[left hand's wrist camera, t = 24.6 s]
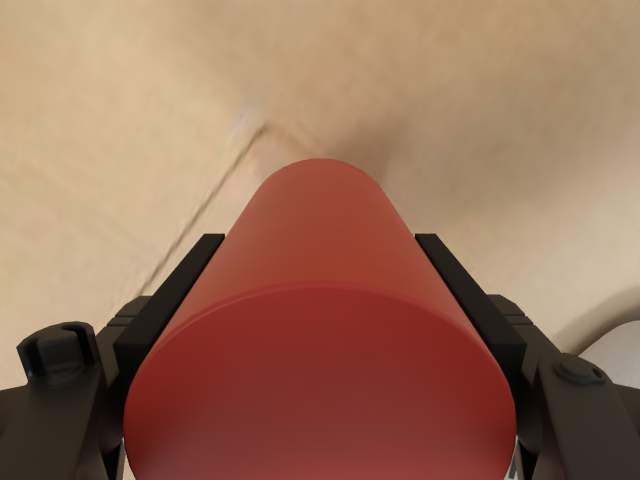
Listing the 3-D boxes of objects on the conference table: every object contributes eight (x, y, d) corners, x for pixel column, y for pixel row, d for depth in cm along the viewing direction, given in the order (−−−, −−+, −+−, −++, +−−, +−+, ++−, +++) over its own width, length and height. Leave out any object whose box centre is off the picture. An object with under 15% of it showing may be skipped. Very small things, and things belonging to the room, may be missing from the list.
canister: (394, 294, 19) (497, 567, 8) (255, 303, 19) (170, 582, 8) (394, 152, 16) (547, 267, 5) (233, 164, 16) (64, 298, 5)
